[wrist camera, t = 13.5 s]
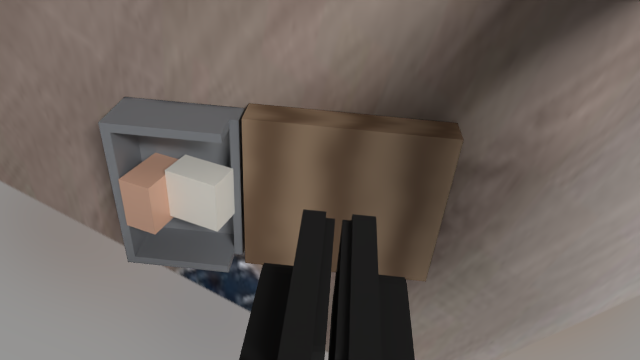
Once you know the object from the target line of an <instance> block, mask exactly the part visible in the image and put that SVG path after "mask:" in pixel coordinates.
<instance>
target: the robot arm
mask: <svg viewBox="0 0 640 360" xmlns="http://www.w3.org/2000/svg"><path fill="white" fill-rule="evenodd" d="M334 228H335V219H333V218H326V211H316V210H306V209H303V213H302V219H301V225H300V231H299V237H298V243H297V248H296V254H295V260H294V266H291V265H281V264H272V263H264V264H263V267H262V270H261V274H260V278H259V282H258V286H257V290H256V294H255V298H254V302H253V306H252V310H251V314H250V318H249V323H248V326H247V330H246V334H245V339H244V343H243V346H242V350H241V355H240V358H239V360H324V357H325V345H326V332H327V319H328V306H329V293H330V280H331V267H332V254H333V241H334ZM328 360H415V358H414V349H413V339H412V330H411V320H410V310H409V301H408V291H407V283H406V279H405V277H398V276H388V275H379V274H378V248H377V223H376V216H366V215H356V214H352V219H351V220H342V228H341V236H340V244H339V253H338V261H337V269H336V278H335V286H334V294H333V303H332V314H331V329H330V343H329V358H328Z"/></svg>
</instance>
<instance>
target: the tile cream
mask: <svg viewBox="0 0 640 360" xmlns="http://www.w3.org/2000/svg"><path fill="white" fill-rule="evenodd" d="M165 177H166V185H167V193H168V200H169V208H170V216H173V217H176V218H179V219H181V220H184V221H187V222H190V223H193V224H196V225H199V226H202V227H205V228H208V229H211V230H214V231H217V232H218V231H219V230H220V229H221V228H222V226H223V225H224V224H225V223H226V222H227V221H228V220H229V219H230V218H231V217H232V216H233V215H234V214H235V206H234V175H233V169H232V168H229V167H226V166H222V165H219V164H216V163H212V162H209V161H205V160H202V159H199V158H195V157H192V156H189V155H184V156H183V157H181V158H180V159H179V160H177V161H176V162H175V163H174V164H172V165H171V166H170V167H168V168H167V169H166V170H165Z"/></svg>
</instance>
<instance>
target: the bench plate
mask: <svg viewBox="0 0 640 360" xmlns="http://www.w3.org/2000/svg"><path fill="white" fill-rule="evenodd" d="M462 144H463V137H462V134H461V131H460V129H459V126H458V123H451V122H441V121H430V120H419V119H409V118H398V117H388V116H377V115H367V114H356V113H345V112H335V111H324V110H314V109H303V108H293V107H282V106H271V105H261V104H250V103H249V104H248V106H247V109H246V111H245V113H244V115H243V117H242V152H243V190H244V228H245V263H251V264H261V265H263V264H264V263H272V264H281V265H291V266H294V260H295V254H296V248H297V243H298V237H299V231H300V225H301V219H302V213H303V209H306V210H316V211H326V218H333V219H335V228H334V241H333V254H332V267H331V272H336V269H337V261H338V253H339V244H340V236H341V228H342V220H351V219H352V214H356V215H366V216H376V223H377V248H378V274H379V275H388V276H398V277H405V279H407V280H417V281H426V278H427V274H428V271H429V267H430V263H431V259H432V256H433V252H434V248H435V245H436V241H437V237H438V233H439V230H440V226H441V222H442V219H443V215H444V211H445V207H446V204H447V200H448V196H449V193H450V189H451V185H452V181H453V178H454V174H455V170H456V166H457V163H458V159H459V155H460V152H461V148H462Z"/></svg>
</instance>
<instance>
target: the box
mask: <svg viewBox="0 0 640 360" xmlns="http://www.w3.org/2000/svg"><path fill="white" fill-rule="evenodd" d="M244 113H245V109H244V108H237V107H226V106H216V105H205V104H195V103H184V102H174V101H163V100H153V99H142V98H132V97H124V98H123V99H122V100H121V101H120V102H119V103H118V104H117V105H116V106H115V107H114V108H113V109H112V110H111V111H110V112H109V113H108V114H107V115H106V116H104V117H103V118H102V119H101V120H100V121H99V122H98V124H99V128H100V133H101V138H102V142H103V147H104V152H105V156H106V161H107V166H108V170H109V175H110V180H111V184H112V189H113V194H114V199H115V203H116V208H117V213H118V217H119V222H120V227H121V231H122V236H123V241H124V245H125V250H126V255H127V259H128V262H134V263H144V264H154V265H163V266H173V267H182V268H192V269H202V270H211V271H221V272H229V270H230V267H231V264H232V261H233V258H234V255H235V254H241V255H243V252H244V248H245V228H244V190H243V152H242V117H243V115H244ZM154 153H159V154H162V155H166V156H169V157H173V158H176V159H180V158H181V157H183V156H184V155H189V156H192V157H195V158H199V159H202V160H205V161H209V162H212V163H216V164H219V165H222V166H226V167H229V168H232V169H233V175H234V206H235V214H234V215H233V216H232V217H231V218H230V219H229V220H228V221H227V222H226V223H225V224H224V225H223V226H222V228H221V229H220V230H219V231H218V232H217V231H214V230H211V229H208V228H205V227H202V226H199V225H196V224H193V223H190V222H187V221H184V220H181V219H179V218H176V217H173V218H172V219H171V220H170V221H169V222H168V223H167V224H166V225H165V226H164V227H163V228H162V229H161V230H160V231H159V232H157V233H156V234H152V233H149V232H146V231H143V230H140V229H137V228H134V227H131V226H128V225H127V222H126V217H125V211H124V206H123V201H122V196H121V191H120V185H119V180H118V179H119V178H121V177H122V176H124V175H125V174H126V173H128V172H129V171H131V170H132V169H133V168H135V167H136V166H137V165H139V164H140V163H142V162H143V161H144V160H146V159H147V158H149V157H150V156H151V155H153V154H154Z"/></svg>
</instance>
